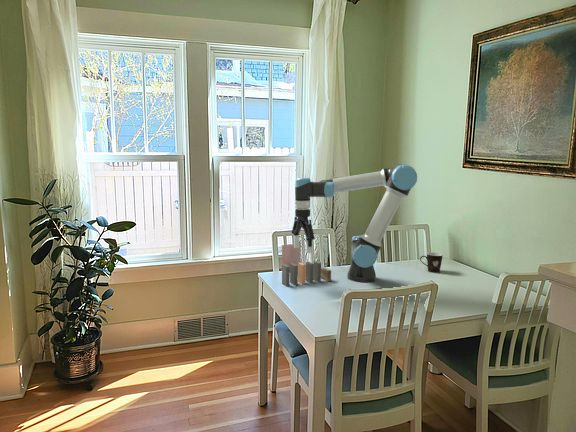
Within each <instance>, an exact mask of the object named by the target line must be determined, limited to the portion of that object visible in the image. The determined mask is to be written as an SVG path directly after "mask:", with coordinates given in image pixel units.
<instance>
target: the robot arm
mask: <svg viewBox="0 0 576 432" xmlns="http://www.w3.org/2000/svg"><path fill="white" fill-rule="evenodd" d="M417 182H418V173H417V171H416V170H415V168H414V167H412V166H411V165H409V164H406V163H404V164H396V165H393V166H391V167H386V168H382V169H381V170H379V171H375V172H367V173H361V174H355V175H348V176H342V177H339V178H338V177H337V178H330V179H322V180H320V181H311V178H309V177H297V178H296V179H295V183H294V185H295V187H294V189H295V190H294V194H295V195H294V197H295V199H294V201H295V202H294V204H295V205H294V206H295V210H294V215H295V216H294V222H293V226H292V229H291V234H293V244H294V248H299V244H300V232H301V230H302V229H303V230H304V234H305V238H306V239H305V240H306V241H305V244H306V245H305V253H306V254H312V253H313V249H312V248H313V247H312V246H313V242H312V241H314V240H315V233H314V230H313V224H312V220H311V219H309V218H310V217H311V197H312V198H333V197H334V196H335V194H337V193H344V192H350V191H356V190H357V191H358V190H364V189H369V188H370V189H372V188H376V187H377V188H378V187H384V188H385V190H386V191H384V194H383V196H382V199H381V201H380V203H379V205H378V207H377V209H376V211H375V212H374V215H373V217H372V218H371V220H370V223H369V224H368V227H367V228H366V231H365V232H364V234H360V235H353V236H352V238H351V250H350V251H351V252H350V253H351V255H350V257H351V258H350V259H351V260H350V265H349V268H348V271H347V276H346V277H347V279H348V280H349V281H351V282H356V283H371V282H374V281H376V280H377V275H376V270H375V267H374V265H375V264H376V262H377V260H378V255H379V253H380V251H381V248H382V246H383V245H382V243H381V241H382V239H383V238H384V236H385V234H386V232H387V230H388V228H389V226H390V224H391V222H392V220H393V217H394V215H395V214H396V212H397V210H398V208H399V206H400V204H401V203H402V200H403V199H404V198H406V197H408V196H409V194H410V191H411V190H412V189H413V188H414V186H416V183H417Z"/></svg>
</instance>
